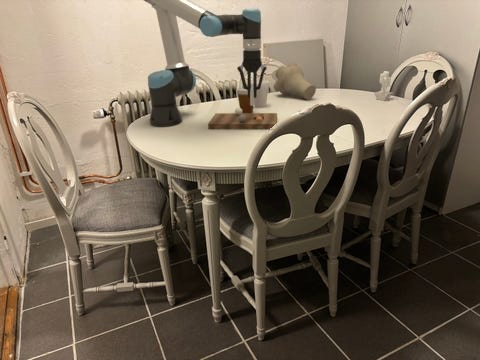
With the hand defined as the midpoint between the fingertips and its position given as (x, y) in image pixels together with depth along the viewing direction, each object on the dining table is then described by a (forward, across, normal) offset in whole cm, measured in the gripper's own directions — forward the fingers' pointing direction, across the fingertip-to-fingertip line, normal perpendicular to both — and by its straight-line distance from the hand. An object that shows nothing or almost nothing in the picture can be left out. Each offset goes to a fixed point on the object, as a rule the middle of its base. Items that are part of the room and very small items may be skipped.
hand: (252, 104), depth 159 cm
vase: (+9, +21, +54) cm, 58 cm away
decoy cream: (+5, -7, +6) cm, 10 cm away
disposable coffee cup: (+9, -5, +20) cm, 22 cm away
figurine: (+8, +68, +47) cm, 83 cm away
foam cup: (+9, +1, +33) cm, 34 cm away
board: (+9, -4, 0) cm, 10 cm away
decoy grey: (+5, -4, -6) cm, 9 cm away
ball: (+7, +3, 0) cm, 8 cm away
